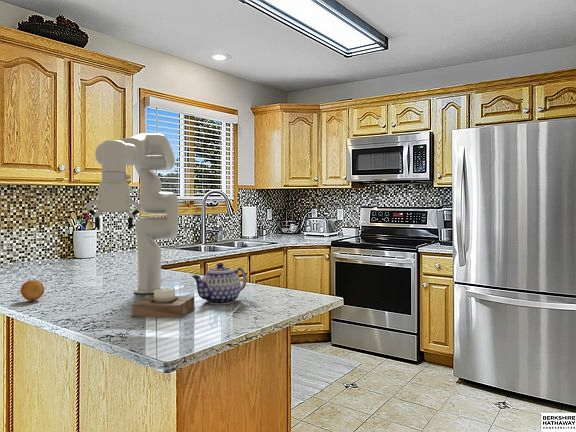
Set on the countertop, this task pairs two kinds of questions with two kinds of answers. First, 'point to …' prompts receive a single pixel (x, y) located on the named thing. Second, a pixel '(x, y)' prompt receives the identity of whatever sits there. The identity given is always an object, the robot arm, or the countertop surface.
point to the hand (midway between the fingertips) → (114, 229)
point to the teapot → (220, 285)
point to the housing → (163, 307)
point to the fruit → (32, 290)
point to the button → (164, 295)
